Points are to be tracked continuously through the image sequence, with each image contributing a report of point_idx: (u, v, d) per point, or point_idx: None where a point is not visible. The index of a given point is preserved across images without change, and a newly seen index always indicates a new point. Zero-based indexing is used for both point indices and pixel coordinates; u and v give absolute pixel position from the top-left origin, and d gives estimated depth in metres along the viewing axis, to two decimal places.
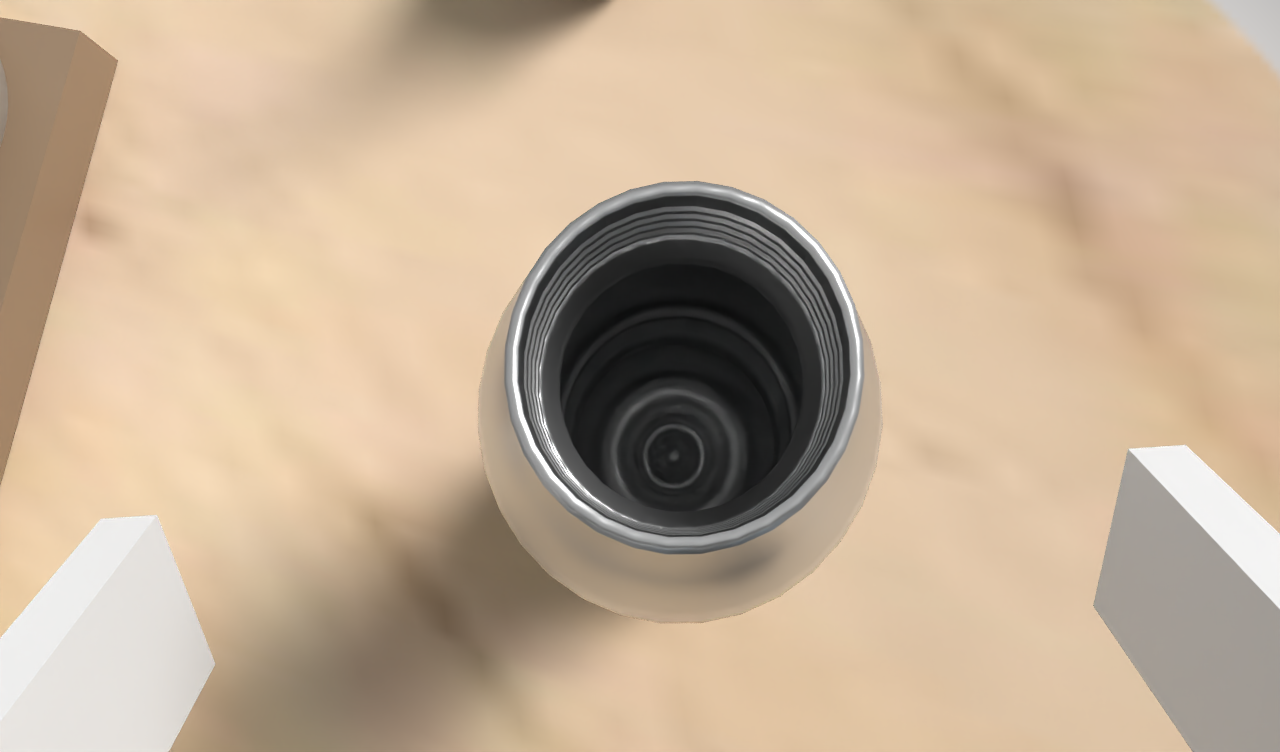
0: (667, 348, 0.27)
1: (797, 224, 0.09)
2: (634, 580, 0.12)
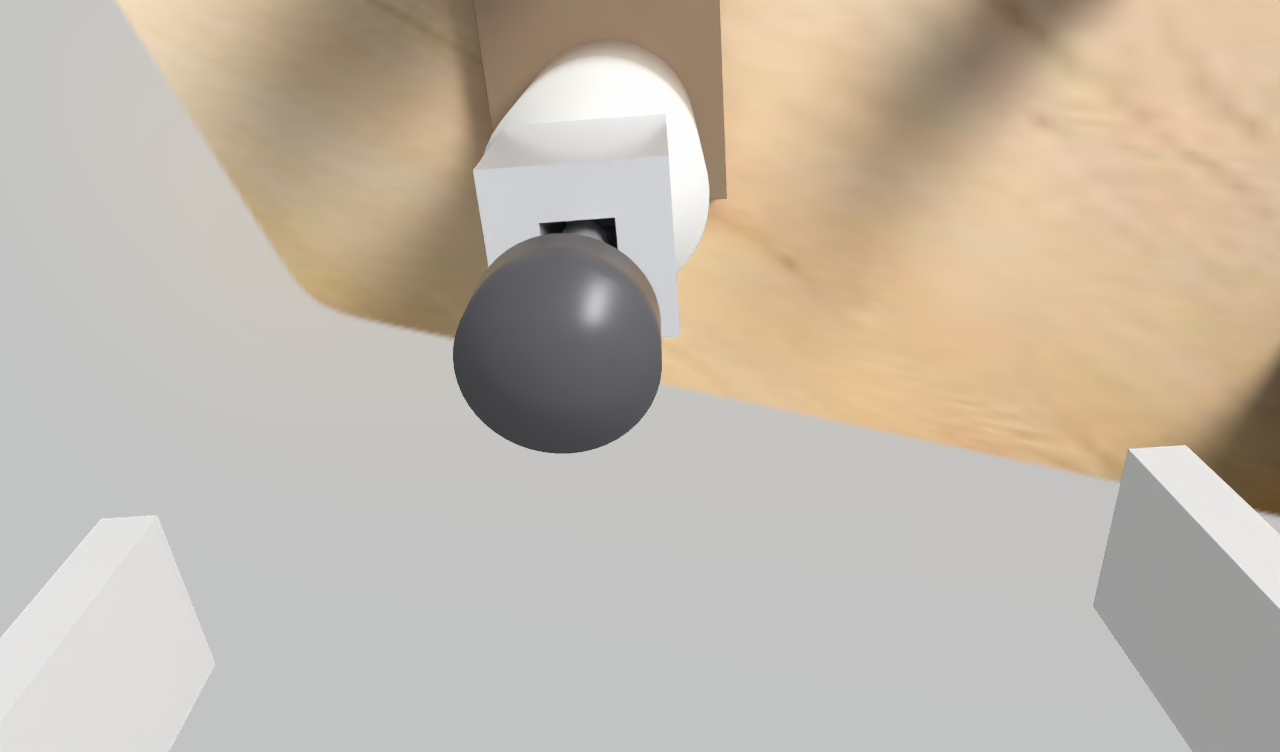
0: None
1: None
2: None
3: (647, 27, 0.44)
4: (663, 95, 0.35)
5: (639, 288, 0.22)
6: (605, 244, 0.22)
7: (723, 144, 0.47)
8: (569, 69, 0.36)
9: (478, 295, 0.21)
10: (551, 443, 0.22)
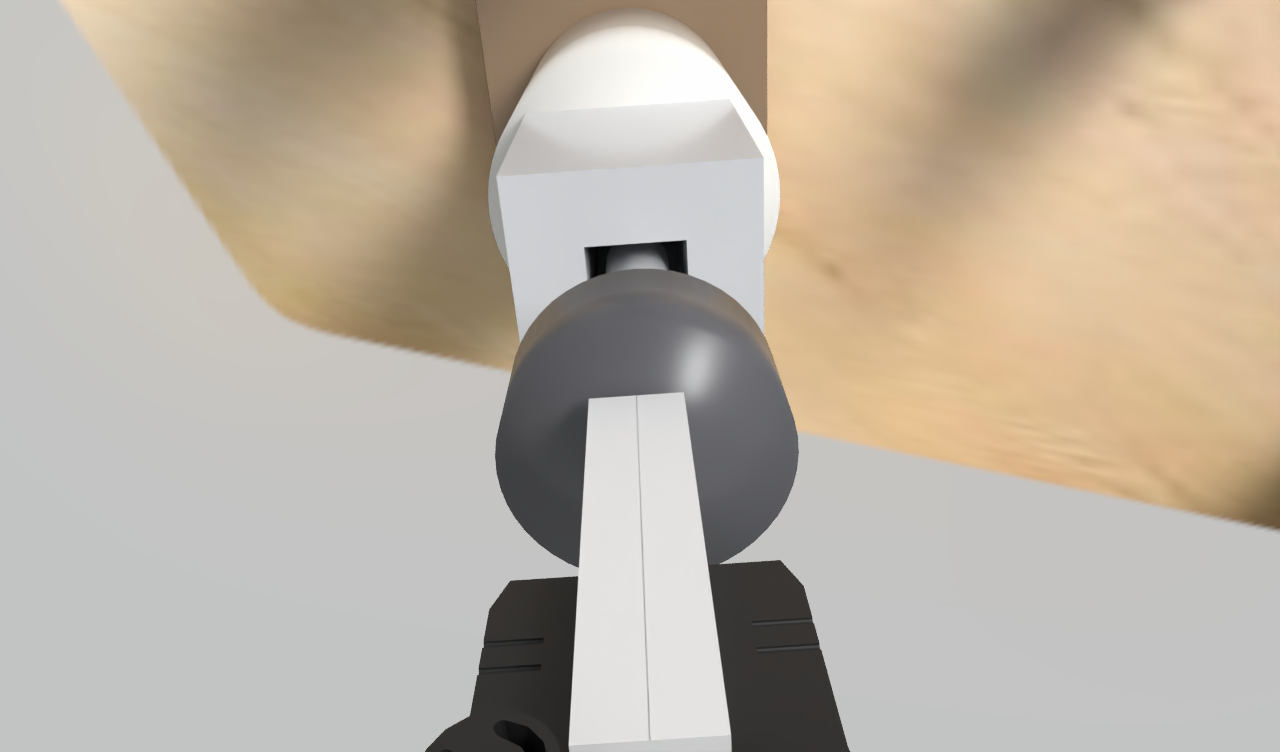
0: None
1: None
2: None
3: None
4: (722, 75, 0.28)
5: (763, 351, 0.15)
6: (707, 284, 0.16)
7: (765, 134, 0.40)
8: (601, 41, 0.28)
9: (536, 368, 0.14)
10: None
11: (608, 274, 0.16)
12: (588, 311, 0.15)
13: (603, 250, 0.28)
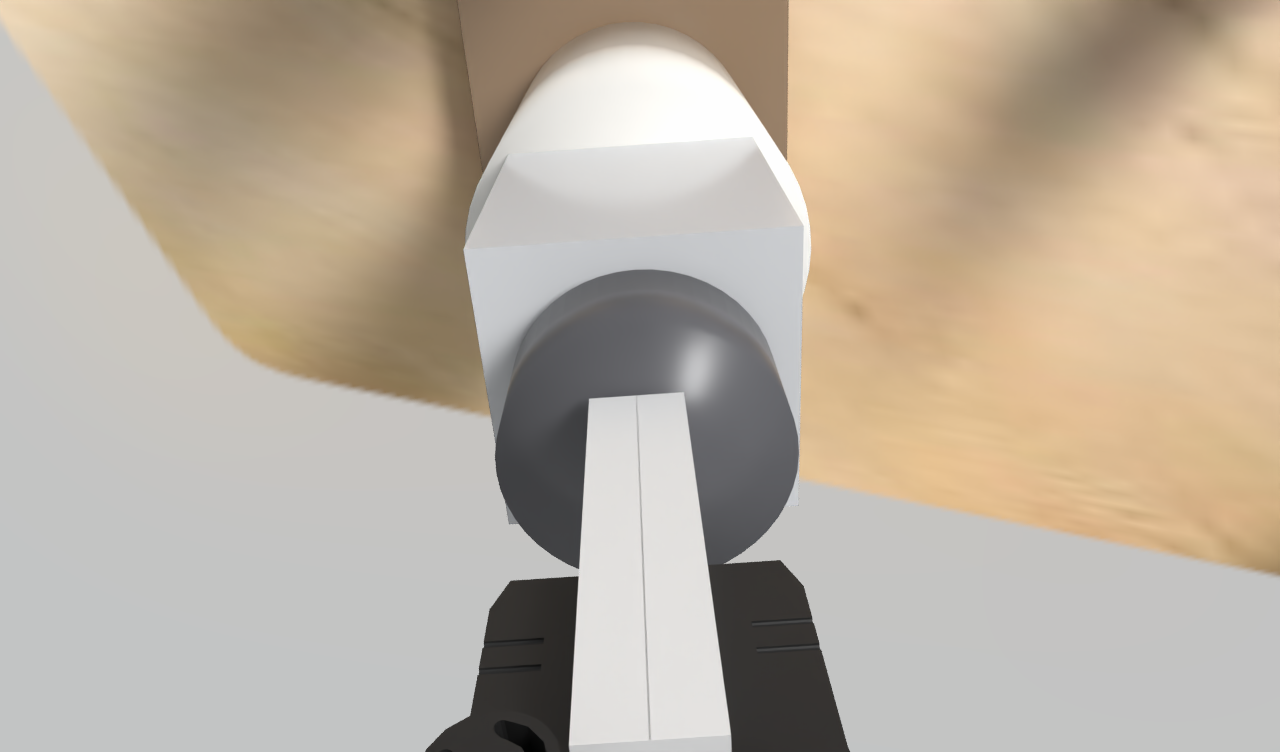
0: None
1: None
2: None
3: (689, 5, 0.33)
4: (742, 107, 0.23)
5: (763, 352, 0.15)
6: (707, 285, 0.16)
7: None
8: (599, 66, 0.24)
9: (536, 368, 0.14)
10: None
11: (609, 275, 0.16)
12: (588, 312, 0.14)
13: None
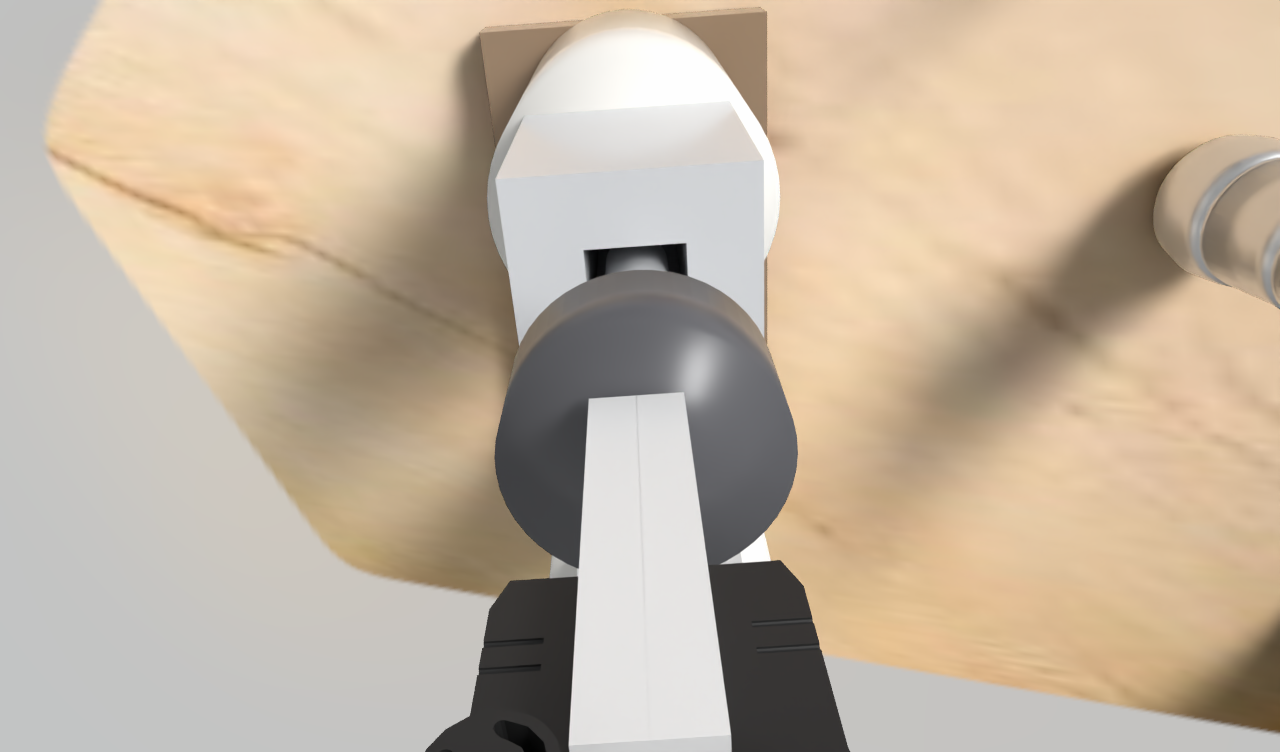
0: None
1: None
2: None
3: None
4: None
5: None
6: None
7: None
8: None
9: None
10: None
11: None
12: None
13: None
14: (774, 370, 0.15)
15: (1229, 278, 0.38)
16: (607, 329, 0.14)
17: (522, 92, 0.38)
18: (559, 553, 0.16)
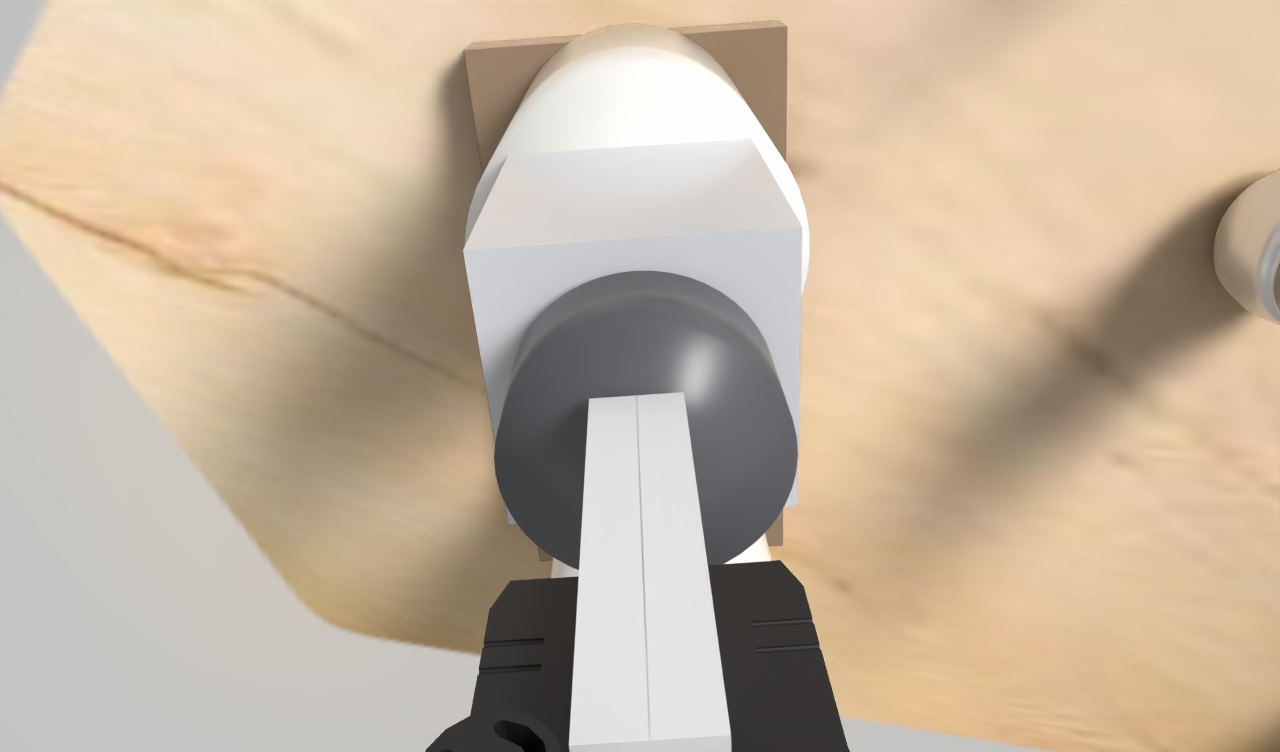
0: None
1: None
2: None
3: None
4: None
5: None
6: None
7: None
8: None
9: None
10: None
11: None
12: None
13: None
14: (774, 371, 0.15)
15: None
16: (607, 329, 0.14)
17: (512, 116, 0.34)
18: (559, 554, 0.16)
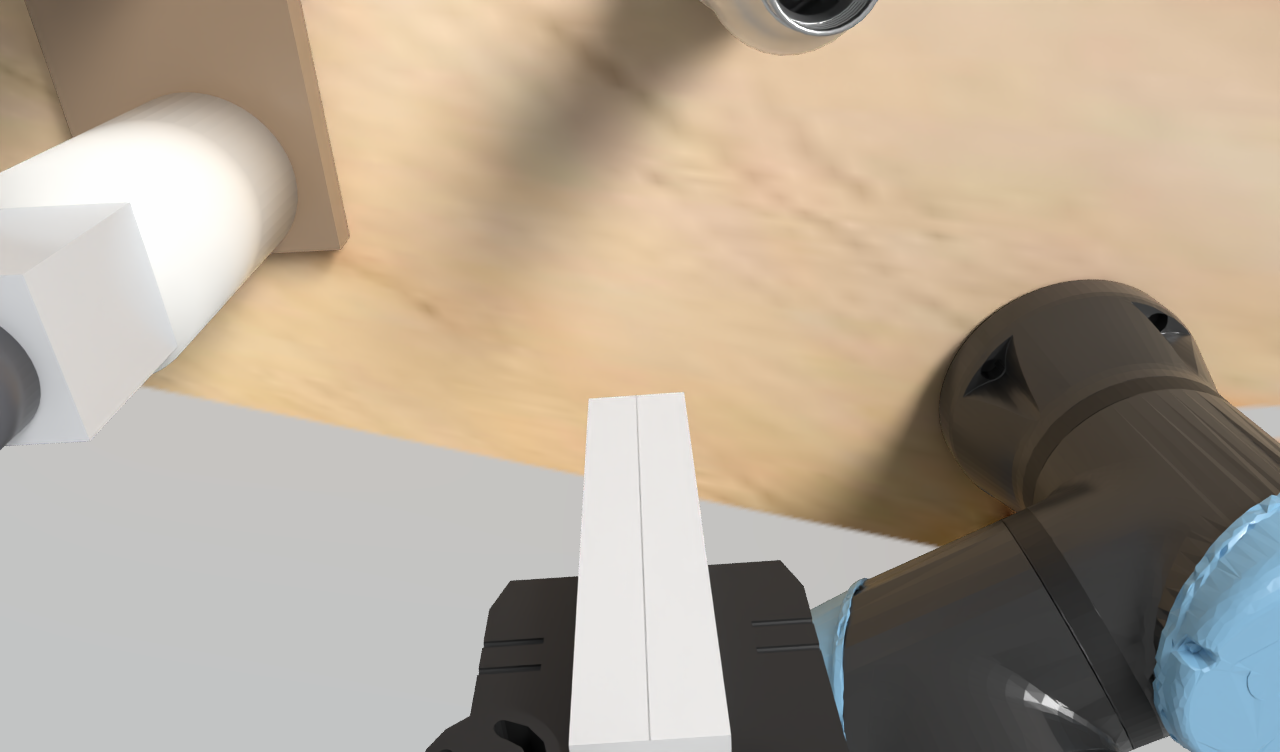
0: None
1: None
2: (794, 41, 0.30)
3: (229, 81, 0.43)
4: (147, 178, 0.34)
5: None
6: None
7: (328, 197, 0.46)
8: (60, 146, 0.35)
9: None
10: None
11: None
12: None
13: None
14: None
15: None
16: None
17: None
18: None
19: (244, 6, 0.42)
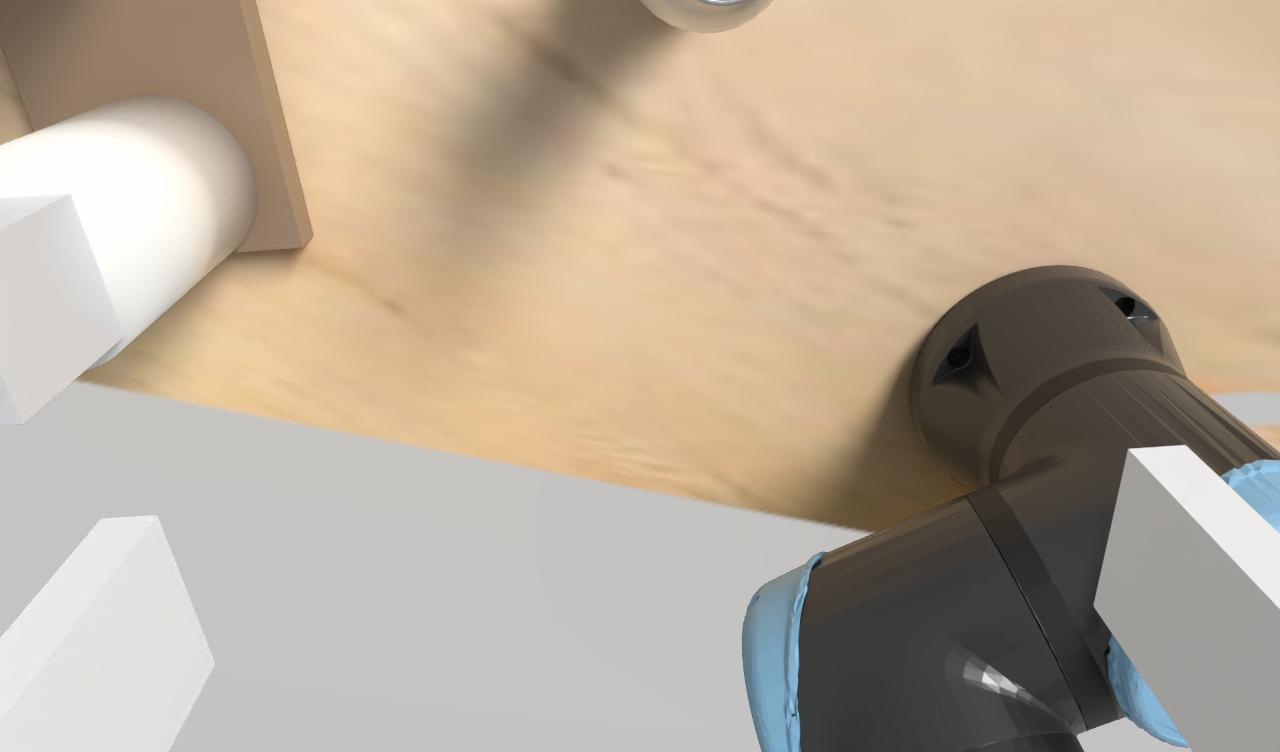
0: None
1: None
2: (710, 16, 0.30)
3: (187, 82, 0.44)
4: (91, 171, 0.35)
5: None
6: None
7: (287, 195, 0.47)
8: (8, 142, 0.36)
9: None
10: None
11: None
12: None
13: None
14: None
15: None
16: None
17: None
18: None
19: (198, 8, 0.43)
